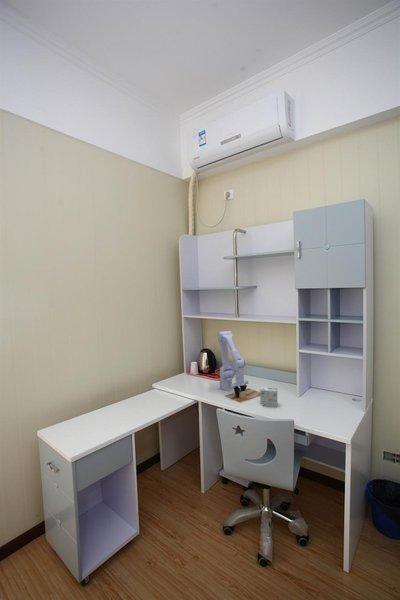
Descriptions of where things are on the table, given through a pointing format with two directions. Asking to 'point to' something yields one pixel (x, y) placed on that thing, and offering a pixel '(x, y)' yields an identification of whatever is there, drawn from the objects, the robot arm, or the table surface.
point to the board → (249, 395)
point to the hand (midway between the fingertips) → (240, 396)
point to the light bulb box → (268, 396)
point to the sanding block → (241, 394)
